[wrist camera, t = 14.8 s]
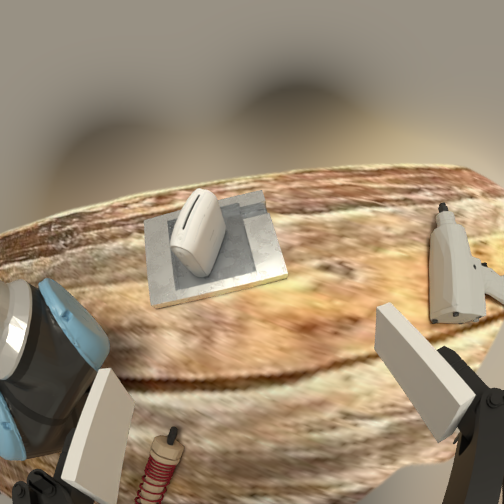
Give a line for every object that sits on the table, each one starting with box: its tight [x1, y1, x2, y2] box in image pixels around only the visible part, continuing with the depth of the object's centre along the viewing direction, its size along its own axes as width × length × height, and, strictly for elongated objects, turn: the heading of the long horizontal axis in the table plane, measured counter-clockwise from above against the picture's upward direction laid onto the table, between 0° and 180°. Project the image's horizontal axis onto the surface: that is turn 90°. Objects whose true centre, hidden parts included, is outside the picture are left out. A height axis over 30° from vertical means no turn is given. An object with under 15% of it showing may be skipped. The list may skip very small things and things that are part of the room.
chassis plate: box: [144, 190, 288, 309], centre depth 46 cm, size 22×16×2 cm
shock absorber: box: [134, 426, 184, 504], centre depth 29 cm, size 5×5×30 cm
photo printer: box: [170, 188, 226, 277], centre depth 41 cm, size 10×4×12 cm, turn 163°
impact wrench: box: [429, 203, 504, 324], centre depth 41 cm, size 8×23×25 cm
